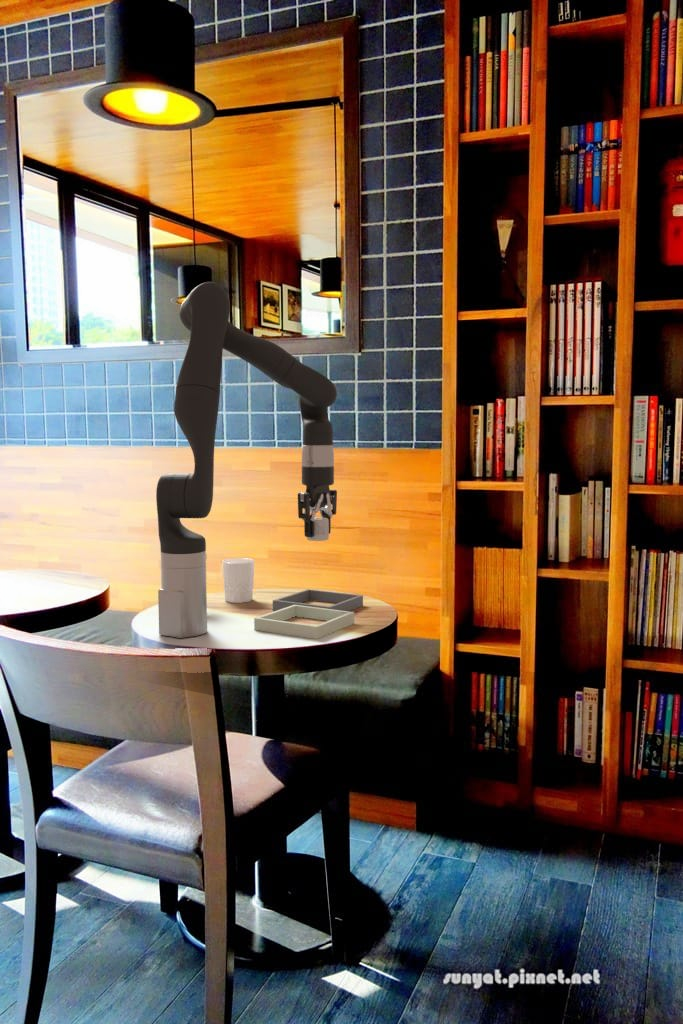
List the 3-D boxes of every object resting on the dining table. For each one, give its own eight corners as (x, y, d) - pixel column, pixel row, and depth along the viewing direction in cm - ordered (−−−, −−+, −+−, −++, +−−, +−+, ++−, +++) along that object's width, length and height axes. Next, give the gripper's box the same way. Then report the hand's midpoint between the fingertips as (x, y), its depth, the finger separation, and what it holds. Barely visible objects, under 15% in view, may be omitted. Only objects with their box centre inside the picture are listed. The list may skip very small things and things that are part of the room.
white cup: (256, 597, 208) (256, 558, 207) (252, 603, 200) (252, 563, 199) (225, 597, 208) (225, 558, 207) (220, 603, 200) (219, 563, 200)
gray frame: (330, 618, 185) (330, 607, 184) (272, 610, 192) (272, 600, 192) (362, 605, 198) (362, 595, 198) (308, 599, 206) (308, 589, 206)
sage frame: (317, 639, 166) (317, 626, 166) (254, 629, 174) (254, 618, 174) (354, 623, 180) (354, 612, 180) (294, 615, 188) (294, 604, 187)
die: (328, 540, 191) (328, 519, 190) (307, 541, 190) (307, 519, 190) (327, 538, 196) (327, 517, 195) (306, 538, 195) (306, 517, 195)
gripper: (315, 466, 183) (315, 539, 185) (347, 464, 196) (346, 533, 197) (287, 465, 187) (287, 537, 189) (320, 463, 200) (320, 531, 201)
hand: (317, 535), depth 193 cm, fingers closed on die, 7 cm apart
